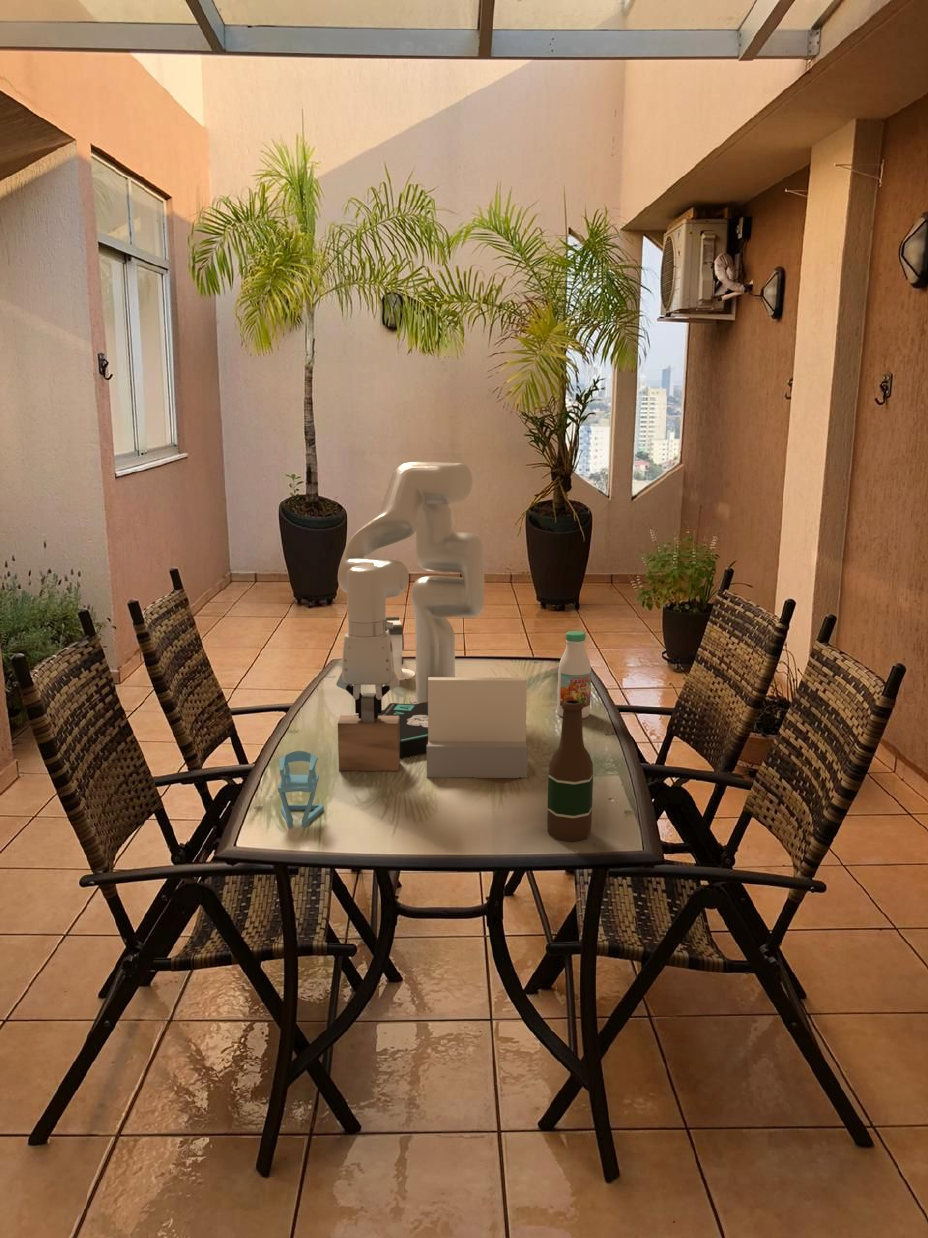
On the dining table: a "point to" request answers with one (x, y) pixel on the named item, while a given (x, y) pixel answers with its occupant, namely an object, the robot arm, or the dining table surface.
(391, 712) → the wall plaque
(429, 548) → the robot arm
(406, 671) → the white peg on disc
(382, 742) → the walnut cabinet
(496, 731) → the wall board
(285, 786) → the chair
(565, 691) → the milk bottle
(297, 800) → the dining table surface
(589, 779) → the beer bottle
